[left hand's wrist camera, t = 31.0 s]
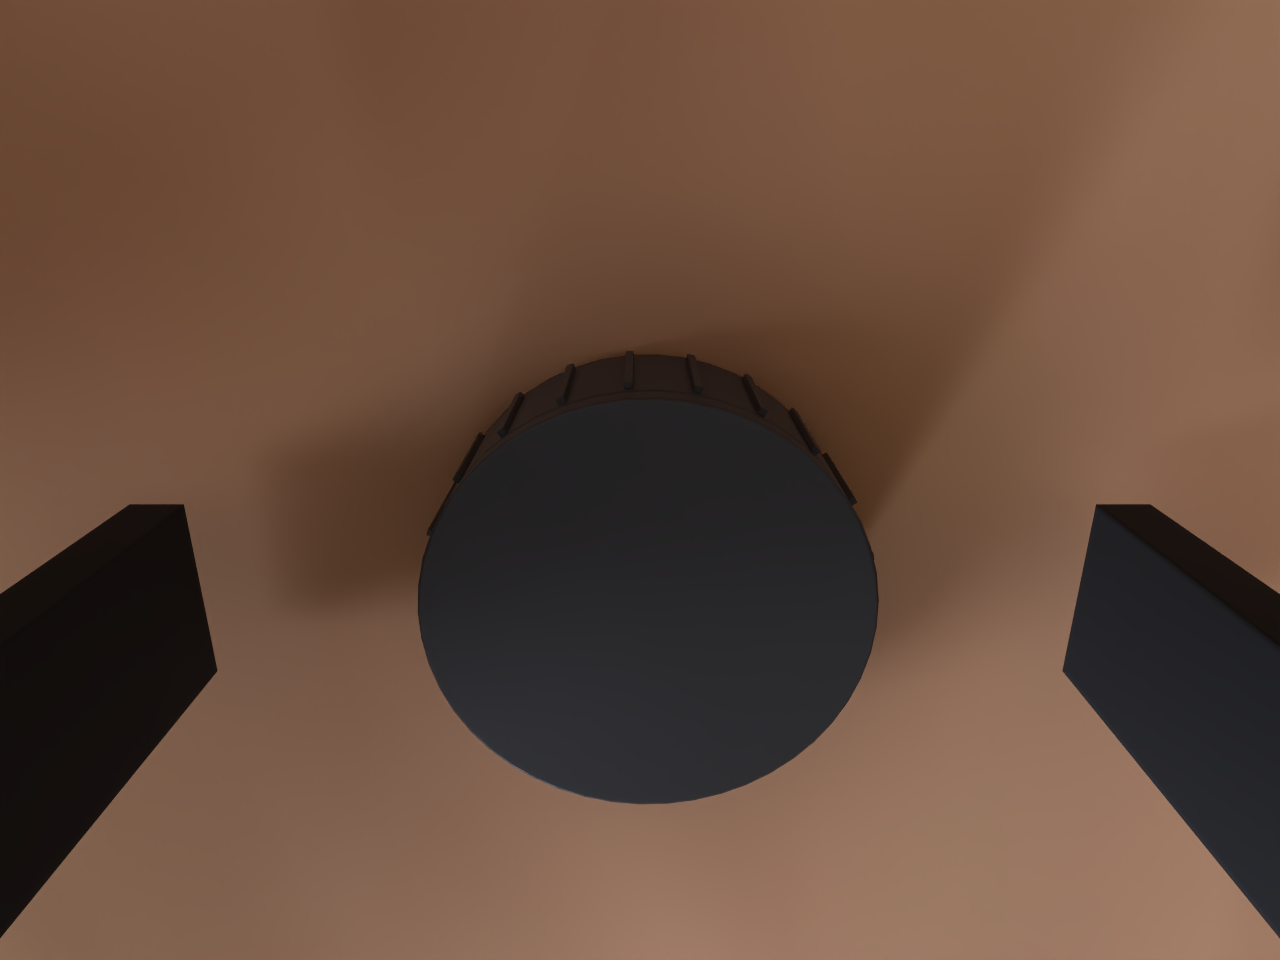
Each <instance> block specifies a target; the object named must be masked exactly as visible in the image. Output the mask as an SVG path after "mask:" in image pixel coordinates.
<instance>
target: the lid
mask: <svg viewBox="0 0 1280 960" xmlns="http://www.w3.org/2000/svg"><path fill="white" fill-rule="evenodd" d="M820 452H821V450H820V449H819V447H818V446H817V444H816V442H815V441H814V439H813V437H812V436H811V434H810V432H809V431H808V429H807V427H806V426H805V424H804V422H803V421H802V419H801V417H800V416H799V414H798V412H797V411H796V410H795V409H794V408H792V409H791V410H790V411H788V410H787V409H786V408H785V407H784V406H783V405H782V404H781V403H780V402H779V401H777V400H776V399H775V398H773V397H772V396H770V395H769V394H768V393H766V392H765V391H764V390H762V389H761V388H760V387H758V386H757V385H755V384H754V382H753V380H752V378H751V376H749V375H747V374H745V375H744V376H743V378H742V377H740V376H738V375H736V374H734V373H732V372H729V371H727V370H724V369H721V368H719V367H716V366H713V365H711V364H708V363H703V362H699V361H696V359H695V356H694V355H689V354H688V355H687V359H686V358H682V357H672V356H662V355H634V352H633V351H627V352H626V356H622V357H615V358H609V359H603V360H598V361H595V362H592V363H588V364H585V365H582V366H578V367H575V366H574V364H570V365H568V366H567V367H566V370H565V372H563V373H561V374H559V375H557V376H554V377H552V378H550V379H548V380H547V381H545V382H544V383H542V384H540V385H539V386H537V387H535V388H534V389H532V390H531V391H529V392H527V393H526V394H525V395H523V394H522V393H521V392H519V393H518V394H517V395H516V396H515V397H514V399H513V401H512V403H511V405H510V407H509V408H508V409H507V410H506V411H505V412H504V413H503V414H502V415H501V416H500V418H499V419H498V420H497V421H496V422H495V423H494V424H493V425H492V426H491V427H490V429H489V430H488V432H487V433H486V435H483V434H482V433H479V435H478V436H477V437H476V439H475V441H474V443H473V444H472V446H471V448H470V450H469V451H468V453H467V455H466V457H465V458H464V460H463V462H462V464H461V465H460V467H459V469H458V471H457V472H456V474H455V476H454V478H453V480H454V481H455V482H454V484H453V486H452V488H451V489H450V491H449V493H448V495H447V497H446V498H445V500H444V502H443V504H442V506H441V507H440V509H439V511H438V513H437V514H436V516H435V518H434V520H433V522H432V523H431V525H430V527H429V529H428V532H427V535H428V536H430V537H429V540H428V544H427V547H426V550H425V553H424V556H423V559H422V566H421V572H420V578H419V584H418V616H419V624H420V631H421V638H422V642H423V645H424V649H425V652H426V656H427V659H428V663H429V665H430V668H431V670H432V672H433V674H434V676H435V679H436V681H437V683H438V685H439V688H440V689H441V691H442V693H443V694H444V696H445V697H446V699H447V701H448V702H449V704H450V705H451V707H452V709H453V710H454V712H455V713H456V714H457V715H458V716H459V718H460V719H461V720H462V721H463V722H464V724H465V725H466V726H467V727H468V729H469V730H470V731H471V732H472V733H473V734H474V735H475V736H476V737H477V738H478V739H480V740H481V741H482V742H483V743H484V744H485V745H486V746H487V747H488V748H489V749H490V750H492V751H493V752H494V753H496V754H497V755H498V756H500V757H501V758H503V759H504V760H505V761H507V762H508V763H509V764H511V765H512V766H514V767H516V768H518V769H519V770H521V771H523V772H525V773H526V774H528V775H530V776H532V777H533V778H535V779H538V780H540V781H542V782H545V783H547V784H549V785H552V786H554V787H556V788H559V789H561V790H565V791H568V792H571V793H575V794H578V795H581V796H584V797H589V798H594V799H600V800H605V801H610V802H619V803H631V804H667V803H675V802H683V801H691V800H697V799H701V798H705V797H709V796H713V795H718V794H721V793H724V792H727V791H730V790H733V789H735V788H738V787H741V786H744V785H747V784H749V783H751V782H753V781H755V780H757V779H759V778H761V777H763V776H765V775H767V774H769V773H771V772H773V771H774V770H776V769H777V768H779V767H781V766H782V765H784V764H785V763H787V762H788V761H790V760H792V759H793V758H794V757H796V756H797V755H798V754H799V753H801V752H802V751H803V750H804V749H806V748H807V747H808V746H809V745H810V744H812V743H813V742H814V741H815V740H816V739H817V738H818V737H819V736H820V735H821V734H822V733H823V732H824V731H825V730H826V729H827V728H828V727H829V725H830V724H831V723H832V722H833V721H834V720H835V718H836V717H837V716H838V714H839V713H840V712H841V710H842V709H843V708H844V706H845V705H846V703H847V702H848V701H849V699H850V697H851V695H852V693H853V692H854V690H855V688H856V686H857V684H858V683H859V681H860V679H861V677H862V674H863V671H864V669H865V666H866V664H867V661H868V658H869V656H870V653H871V649H872V645H873V640H874V636H875V632H876V627H877V615H878V602H879V598H878V584H877V572H876V568H875V564H874V555H873V552H872V550H871V546H870V544H869V541H868V539H867V536H866V533H865V531H864V528H863V526H862V523H861V521H860V519H859V517H858V515H857V514H856V512H855V510H854V508H853V507H852V505H853V504H856V503H857V501H856V499H855V497H854V496H853V494H852V492H851V491H850V489H849V487H848V486H847V484H846V483H845V481H844V479H843V478H842V476H841V475H840V473H839V471H838V470H837V468H836V466H835V465H834V463H833V462H832V460H831V458H830V457H829V455H828V454H827V453H825V454H823V455H822V454H821V453H820Z"/></svg>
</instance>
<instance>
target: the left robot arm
mask: <svg viewBox="0 0 1280 960" xmlns="http://www.w3.org/2000/svg"><path fill="white" fill-rule="evenodd" d="M216 672H217V666H216V661H215V656H214V651H213V647H212V642H211V637H210V632H209V627H208V622H207V617H206V612H205V607H204V602H203V597H202V592H201V587H200V582H199V577H198V572H197V568H196V563H195V558H194V553H193V548H192V543H191V538H190V533H189V528H188V523H187V518H186V513H185V508H184V504H130V505H128V506H127V507H125V508H124V509H122V510H121V511H120V512H118V513H117V514H115V515H114V516H112V517H111V518H110V519H108V520H107V521H105V522H104V523H102V524H101V525H99V526H98V527H97V528H95V529H94V530H92V531H91V532H89V533H88V534H86V535H85V536H84V537H82V538H81V539H79V540H78V541H76V542H75V543H73V544H72V545H71V546H69V547H68V548H66V549H65V550H63V551H62V552H60V553H59V554H58V555H56V556H55V557H53V558H52V559H50V560H49V561H47V562H46V563H45V564H43V565H42V566H40V567H39V568H37V569H36V570H34V571H33V572H32V573H30V574H29V575H27V576H26V577H24V578H23V579H21V580H20V581H19V582H17V583H16V584H14V585H13V586H11V587H10V588H8V589H7V590H6V591H4V592H3V593H1V594H0V938H1V937H2V935H3V934H4V933H5V932H6V930H7V929H8V928H9V927H10V926H11V924H12V923H13V922H14V921H15V919H16V918H17V917H18V916H19V914H20V913H21V912H22V911H23V910H24V908H25V907H26V906H27V905H28V903H29V902H30V901H31V900H32V898H33V897H34V896H35V895H36V894H37V892H38V891H39V890H40V889H41V887H42V886H43V885H44V884H45V882H46V881H47V880H48V879H49V878H50V876H51V875H52V874H53V873H54V871H55V870H56V869H57V868H58V867H59V865H60V864H61V863H62V862H63V860H64V859H65V858H66V857H67V855H68V854H69V853H70V852H71V851H72V849H73V848H74V847H75V846H76V844H77V843H78V842H79V841H80V839H81V838H82V837H83V836H84V835H85V833H86V832H87V831H88V830H89V828H90V827H91V826H92V825H93V823H94V822H95V821H96V820H97V819H98V817H99V816H100V815H101V814H102V812H103V811H104V810H105V809H106V807H107V806H108V805H109V804H110V803H111V801H112V800H113V799H114V798H115V796H116V795H117V794H118V793H119V791H120V790H121V789H122V788H123V787H124V785H125V784H126V783H127V782H128V780H129V779H130V778H131V777H132V775H133V774H134V773H135V772H136V771H137V769H138V768H139V767H140V766H141V764H142V763H143V762H144V761H145V759H146V758H147V757H148V756H149V755H150V753H151V752H152V751H153V750H154V748H155V747H156V746H157V745H158V743H159V742H160V741H161V740H162V739H163V737H164V736H165V735H166V734H167V732H168V731H169V730H170V729H171V727H172V726H173V725H174V724H175V723H176V721H177V720H178V719H179V718H180V716H181V715H182V714H183V713H184V711H185V710H186V709H187V708H188V707H189V705H190V704H191V703H192V702H193V700H194V699H195V698H196V697H197V695H198V694H199V693H200V692H201V691H202V689H203V688H204V687H205V686H206V684H207V683H208V682H209V681H210V679H211V678H212V677H213V676H214V675H215V673H216ZM1063 672H1064V673H1065V675H1066V676H1067V677H1068V678H1069V679H1070V681H1071V682H1072V683H1073V684H1074V686H1075V687H1076V688H1077V689H1078V691H1079V692H1080V693H1081V694H1082V695H1083V697H1084V698H1085V699H1086V700H1087V702H1088V703H1089V704H1090V705H1091V707H1092V708H1093V709H1094V710H1095V711H1096V713H1097V714H1098V715H1099V716H1100V718H1101V719H1102V720H1103V721H1104V723H1105V724H1106V725H1107V726H1108V727H1109V729H1110V730H1111V731H1112V732H1113V734H1114V735H1115V736H1116V737H1117V739H1118V740H1119V741H1120V742H1121V743H1122V745H1123V746H1124V747H1125V748H1126V750H1127V751H1128V752H1129V753H1130V755H1131V756H1132V757H1133V758H1134V759H1135V761H1136V762H1137V763H1138V764H1139V766H1140V767H1141V768H1142V769H1143V771H1144V772H1145V773H1146V774H1147V775H1148V777H1149V778H1150V779H1151V780H1152V782H1153V783H1154V784H1155V785H1156V787H1157V788H1158V789H1159V790H1160V791H1161V793H1162V794H1163V795H1164V796H1165V798H1166V799H1167V800H1168V801H1169V803H1170V804H1171V805H1172V806H1173V807H1174V809H1175V810H1176V811H1177V812H1178V814H1179V815H1180V816H1181V817H1182V819H1183V820H1184V821H1185V822H1186V823H1187V825H1188V826H1189V827H1190V828H1191V830H1192V831H1193V832H1194V833H1195V835H1196V836H1197V837H1198V838H1199V839H1200V841H1201V842H1202V843H1203V844H1204V846H1205V847H1206V848H1207V849H1208V851H1209V852H1210V853H1211V854H1212V855H1213V857H1214V858H1215V859H1216V860H1217V862H1218V863H1219V864H1220V865H1221V867H1222V868H1223V869H1224V870H1225V871H1226V873H1227V874H1228V875H1229V876H1230V878H1231V879H1232V880H1233V881H1234V883H1235V884H1236V885H1237V886H1238V887H1239V889H1240V890H1241V891H1242V892H1243V894H1244V895H1245V896H1246V897H1247V899H1248V900H1249V901H1250V902H1251V903H1252V905H1253V906H1254V907H1255V908H1256V910H1257V911H1258V912H1259V913H1260V915H1261V916H1262V917H1263V918H1264V919H1265V921H1266V922H1267V923H1268V924H1269V926H1270V927H1271V928H1272V929H1273V931H1274V932H1275V933H1276V934H1277V935H1278V937H1279V938H1280V594H1279V593H1277V592H1276V591H1274V590H1273V589H1272V588H1270V587H1269V586H1267V585H1266V584H1264V583H1263V582H1261V581H1260V580H1259V579H1257V578H1256V577H1254V576H1253V575H1251V574H1250V573H1248V572H1247V571H1246V570H1244V569H1243V568H1241V567H1240V566H1238V565H1237V564H1235V563H1234V562H1233V561H1231V560H1230V559H1228V558H1227V557H1225V556H1224V555H1222V554H1221V553H1220V552H1218V551H1217V550H1215V549H1214V548H1212V547H1211V546H1209V545H1208V544H1207V543H1205V542H1204V541H1202V540H1201V539H1199V538H1198V537H1196V536H1195V535H1194V534H1192V533H1191V532H1189V531H1188V530H1186V529H1185V528H1183V527H1182V526H1181V525H1179V524H1178V523H1176V522H1175V521H1173V520H1172V519H1170V518H1169V517H1168V516H1166V515H1165V514H1163V513H1162V512H1160V511H1159V510H1157V509H1156V508H1155V507H1153V506H1152V505H1150V504H1096V508H1095V513H1094V518H1093V523H1092V528H1091V533H1090V538H1089V543H1088V548H1087V553H1086V558H1085V562H1084V567H1083V572H1082V577H1081V582H1080V587H1079V592H1078V597H1077V602H1076V607H1075V612H1074V617H1073V622H1072V627H1071V632H1070V637H1069V642H1068V646H1067V651H1066V656H1065V661H1064V666H1063Z"/></svg>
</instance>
